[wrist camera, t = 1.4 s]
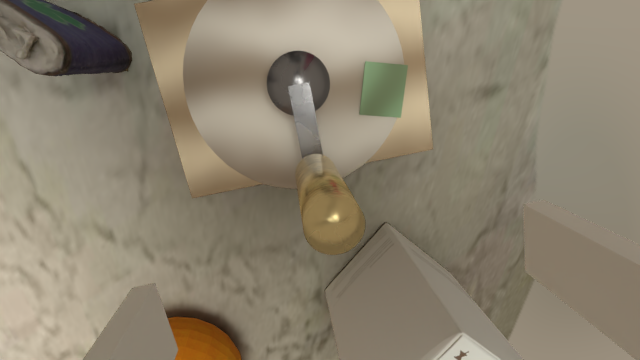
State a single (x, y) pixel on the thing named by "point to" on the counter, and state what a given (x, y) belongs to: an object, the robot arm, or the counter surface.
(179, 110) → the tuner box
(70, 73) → the flask
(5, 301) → the counter surface
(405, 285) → the supplement box
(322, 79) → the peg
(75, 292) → the counter surface
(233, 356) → the fruit
